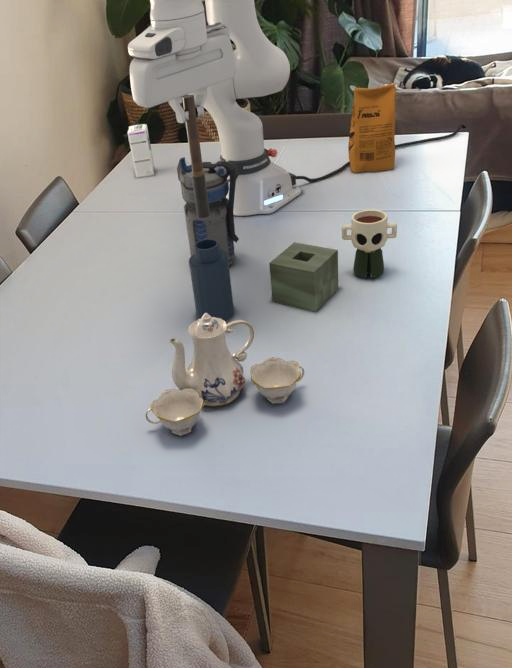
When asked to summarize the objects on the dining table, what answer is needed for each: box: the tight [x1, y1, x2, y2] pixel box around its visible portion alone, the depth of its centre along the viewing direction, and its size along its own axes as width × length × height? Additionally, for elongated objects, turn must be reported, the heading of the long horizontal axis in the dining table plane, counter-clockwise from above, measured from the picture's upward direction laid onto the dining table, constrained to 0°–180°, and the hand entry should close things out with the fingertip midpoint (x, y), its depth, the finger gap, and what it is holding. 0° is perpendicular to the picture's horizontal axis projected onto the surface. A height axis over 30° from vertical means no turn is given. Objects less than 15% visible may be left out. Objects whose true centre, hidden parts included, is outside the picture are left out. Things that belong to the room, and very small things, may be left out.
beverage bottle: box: [176, 156, 240, 267], centre depth 158 cm, size 10×13×25 cm
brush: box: [181, 94, 210, 218], centre depth 128 cm, size 2×2×22 cm
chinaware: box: [145, 313, 305, 437], centre depth 118 cm, size 28×17×17 cm, turn 114°
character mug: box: [341, 208, 398, 279], centre depth 148 cm, size 11×7×13 cm, turn 78°
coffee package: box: [347, 83, 397, 174], centre depth 194 cm, size 10×12×22 cm
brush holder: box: [268, 241, 339, 313], centre depth 146 cm, size 10×10×9 cm
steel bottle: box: [188, 239, 235, 323], centre depth 143 cm, size 8×8×16 cm
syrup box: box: [127, 123, 156, 178], centre depth 218 cm, size 6×6×14 cm
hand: (190, 119), depth 124 cm, fingers closed on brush, 2 cm apart
